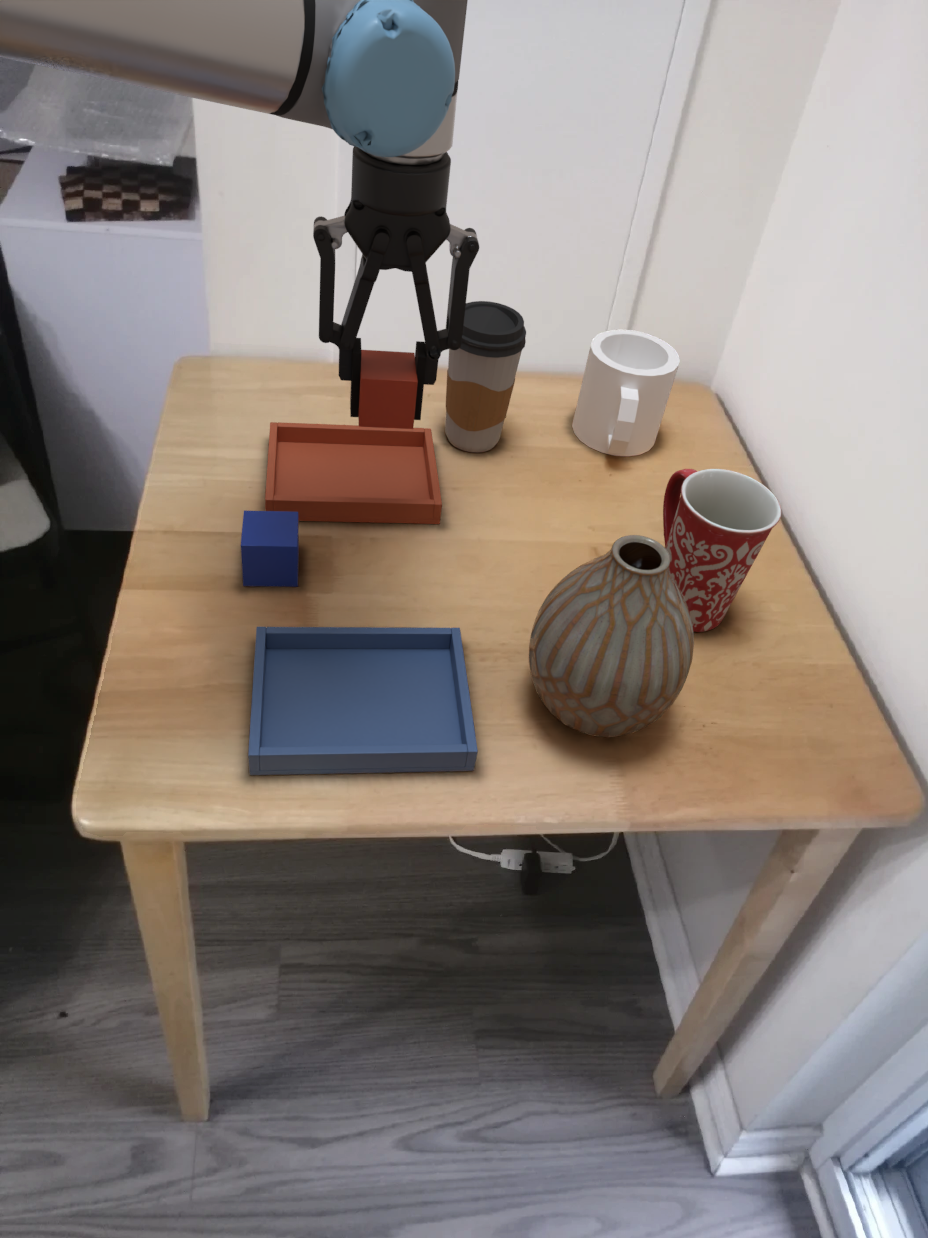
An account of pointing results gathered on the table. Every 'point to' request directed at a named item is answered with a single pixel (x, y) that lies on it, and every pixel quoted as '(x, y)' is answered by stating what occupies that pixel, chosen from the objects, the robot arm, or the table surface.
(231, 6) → the robot arm
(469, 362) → the coffee cup
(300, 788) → the table surface
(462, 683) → the blue tray
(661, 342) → the mug
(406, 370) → the rust block
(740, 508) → the mug
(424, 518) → the terracotta tray
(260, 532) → the blue block
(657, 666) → the vase
